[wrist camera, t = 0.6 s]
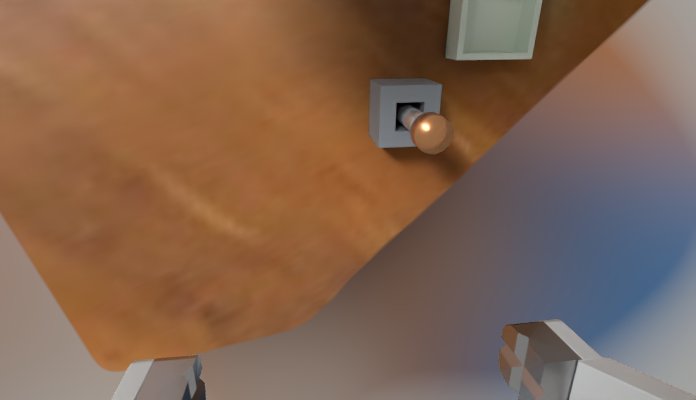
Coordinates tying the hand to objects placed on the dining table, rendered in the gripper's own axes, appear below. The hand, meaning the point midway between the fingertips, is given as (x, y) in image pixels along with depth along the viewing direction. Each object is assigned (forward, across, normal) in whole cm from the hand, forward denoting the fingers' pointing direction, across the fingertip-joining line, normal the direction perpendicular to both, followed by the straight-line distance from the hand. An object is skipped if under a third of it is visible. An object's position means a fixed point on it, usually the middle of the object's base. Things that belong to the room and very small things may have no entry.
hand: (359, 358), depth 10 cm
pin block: (+34, -10, -3) cm, 35 cm away
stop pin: (+34, -10, -3) cm, 35 cm away
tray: (+33, -19, -12) cm, 40 cm away
